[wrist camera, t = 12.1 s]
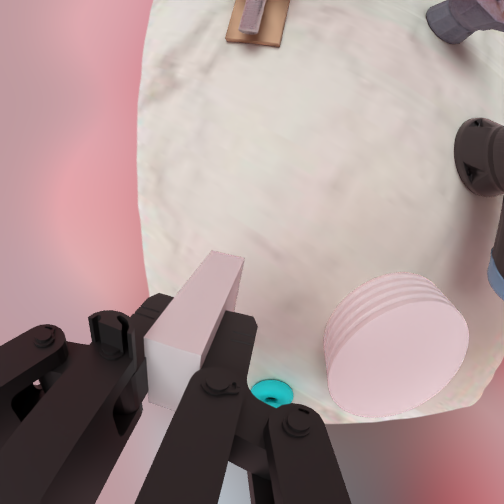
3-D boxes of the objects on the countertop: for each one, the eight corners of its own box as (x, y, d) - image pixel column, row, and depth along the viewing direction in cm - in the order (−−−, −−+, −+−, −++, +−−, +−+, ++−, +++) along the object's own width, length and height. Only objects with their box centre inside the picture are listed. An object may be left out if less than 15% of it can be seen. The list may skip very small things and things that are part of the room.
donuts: (298, 431, 50) (255, 437, 53) (298, 399, 60) (260, 406, 62) (283, 406, 48) (236, 414, 50) (285, 373, 57) (244, 381, 60)
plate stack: (345, 395, 58) (350, 432, 47) (302, 308, 51) (303, 346, 41) (449, 349, 50) (468, 379, 40) (433, 248, 44) (463, 271, 33)
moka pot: (456, 63, 31) (518, 37, 12) (402, 2, 29) (442, -48, 10) (477, 48, 28) (534, 24, 9) (427, -9, 26) (468, -53, 7)
